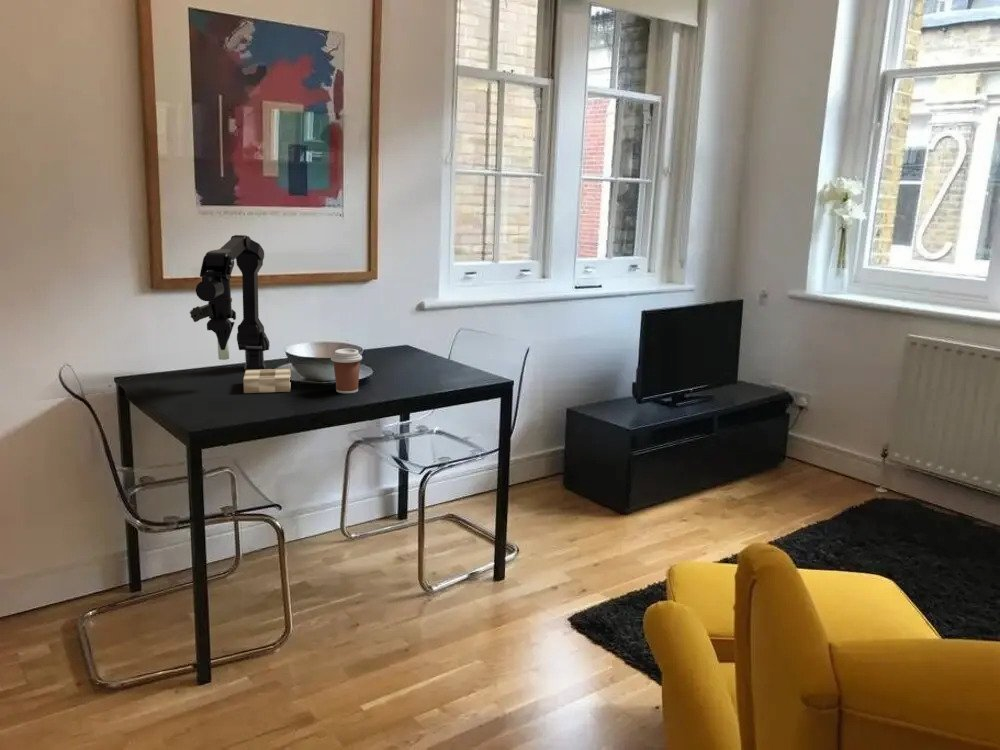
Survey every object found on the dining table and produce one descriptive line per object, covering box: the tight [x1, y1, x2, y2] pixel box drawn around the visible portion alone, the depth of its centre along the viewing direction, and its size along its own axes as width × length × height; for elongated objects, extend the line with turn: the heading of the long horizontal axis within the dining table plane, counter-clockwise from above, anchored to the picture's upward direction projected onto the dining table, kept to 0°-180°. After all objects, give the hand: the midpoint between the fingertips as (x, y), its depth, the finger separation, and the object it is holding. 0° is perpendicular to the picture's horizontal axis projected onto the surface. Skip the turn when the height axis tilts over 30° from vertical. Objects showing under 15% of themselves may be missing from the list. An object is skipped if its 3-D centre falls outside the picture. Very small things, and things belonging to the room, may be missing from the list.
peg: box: [217, 339, 230, 361], centre depth 245 cm, size 3×3×9 cm
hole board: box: [242, 368, 292, 394], centre depth 250 cm, size 12×13×4 cm
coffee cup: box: [330, 348, 363, 394], centre depth 248 cm, size 9×9×12 cm
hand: (223, 348), depth 246 cm, fingers closed on peg, 3 cm apart
